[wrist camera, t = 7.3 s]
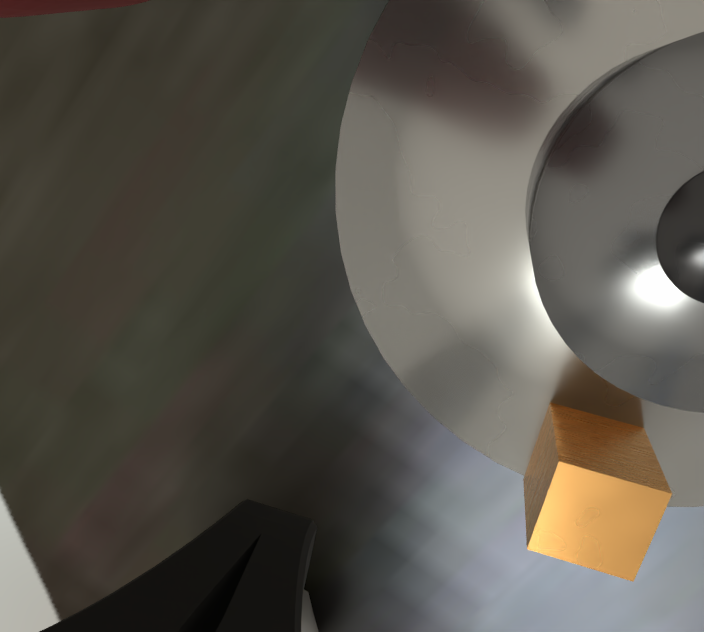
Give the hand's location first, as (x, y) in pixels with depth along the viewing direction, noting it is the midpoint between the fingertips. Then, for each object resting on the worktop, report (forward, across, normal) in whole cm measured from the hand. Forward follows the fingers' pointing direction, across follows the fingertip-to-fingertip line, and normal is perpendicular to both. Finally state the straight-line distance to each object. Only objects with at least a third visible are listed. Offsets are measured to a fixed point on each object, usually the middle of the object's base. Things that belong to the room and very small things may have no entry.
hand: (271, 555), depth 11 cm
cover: (+7, -6, -7) cm, 12 cm away
